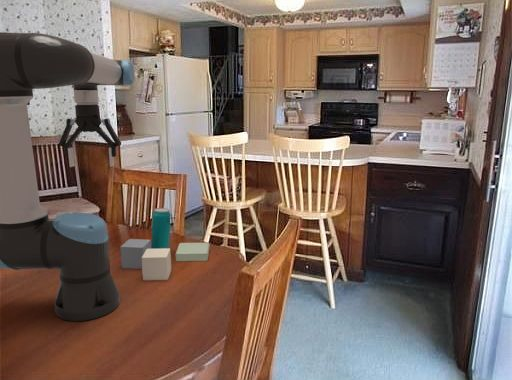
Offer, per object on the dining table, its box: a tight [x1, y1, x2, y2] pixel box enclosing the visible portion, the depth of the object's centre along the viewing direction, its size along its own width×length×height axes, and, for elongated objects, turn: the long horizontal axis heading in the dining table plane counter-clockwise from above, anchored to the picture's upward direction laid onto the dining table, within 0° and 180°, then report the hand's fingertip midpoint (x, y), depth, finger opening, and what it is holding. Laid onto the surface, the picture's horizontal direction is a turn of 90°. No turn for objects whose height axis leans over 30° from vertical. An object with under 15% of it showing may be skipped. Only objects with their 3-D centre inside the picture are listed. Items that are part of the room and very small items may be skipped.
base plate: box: [175, 242, 210, 262], centre depth 139 cm, size 10×10×2 cm
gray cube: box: [119, 238, 152, 270], centre depth 131 cm, size 7×7×7 cm
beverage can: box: [151, 207, 171, 249], centre depth 138 cm, size 6×6×15 cm
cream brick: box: [141, 247, 172, 281], centre depth 123 cm, size 7×7×7 cm
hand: (92, 166), depth 146 cm, fingers open, 13 cm apart
